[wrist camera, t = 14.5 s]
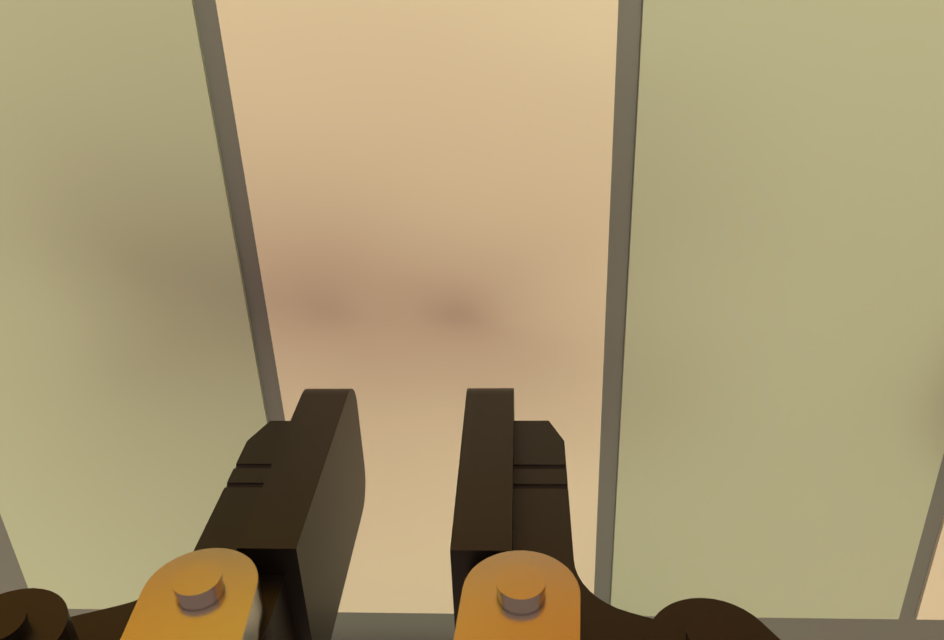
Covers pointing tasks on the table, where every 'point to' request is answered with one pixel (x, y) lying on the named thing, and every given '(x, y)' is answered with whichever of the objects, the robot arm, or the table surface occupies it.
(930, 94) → the game board
